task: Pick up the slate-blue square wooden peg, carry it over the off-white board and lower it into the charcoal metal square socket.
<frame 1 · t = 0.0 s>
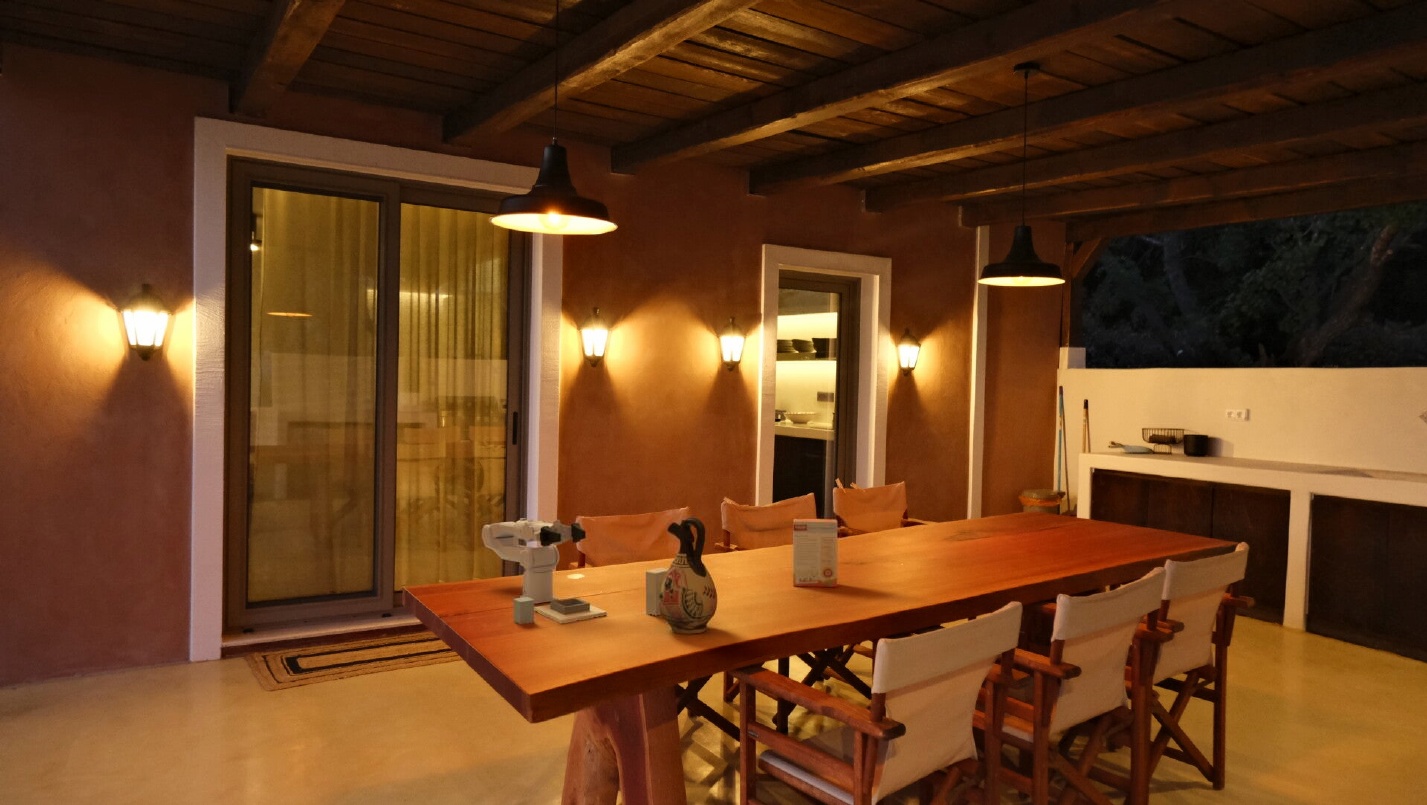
hand: (572, 536, 246), 22 cm above the table, tool horizontal, fingers open, 7 cm apart
skincare box: (657, 613, 249), on the table
socket holder: (570, 613, 247), on the table
cracker box: (814, 585, 283), on the table
peg: (523, 621, 239), on the table
ceramic jug: (689, 631, 232), on the table
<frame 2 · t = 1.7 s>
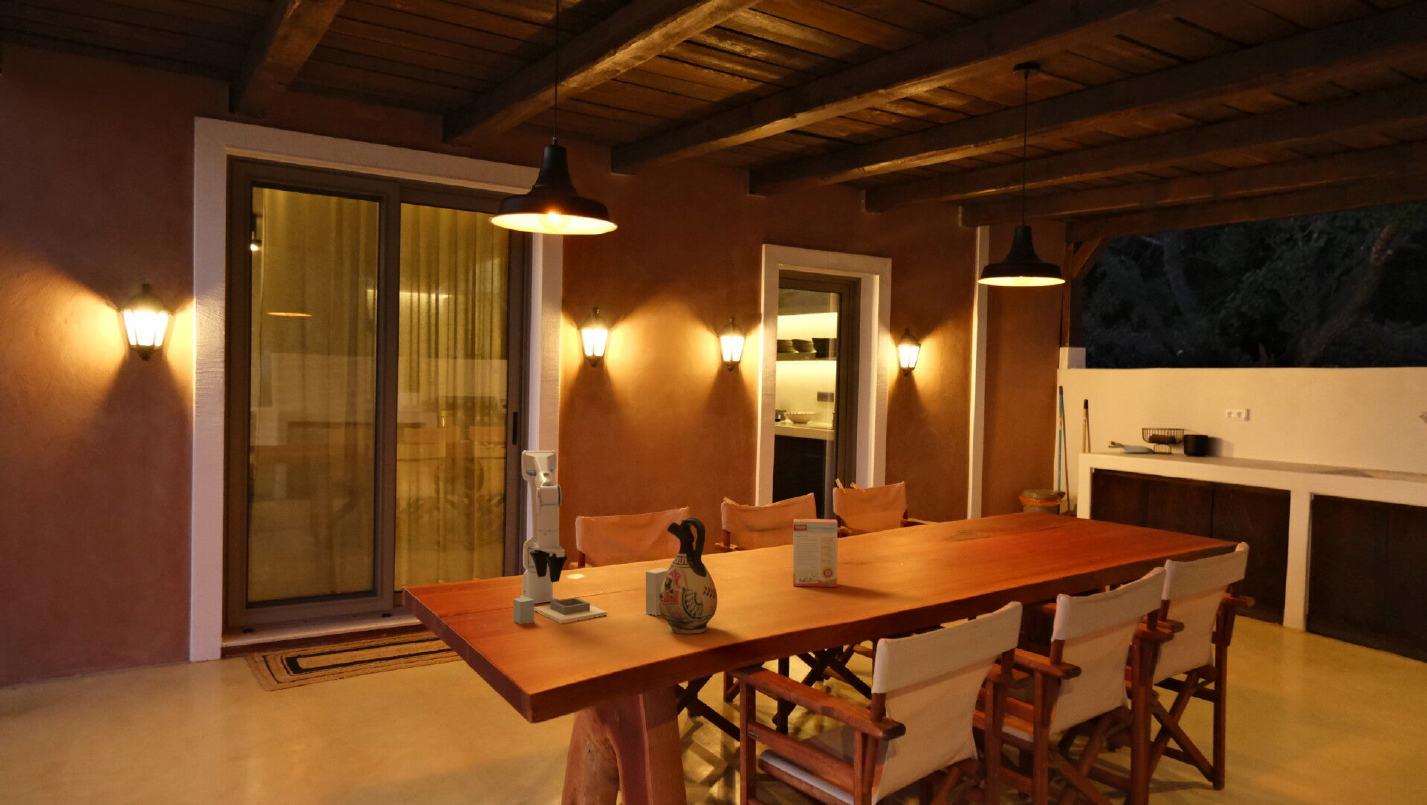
hand: (548, 579, 243), 10 cm above the table, tool pointing down, fingers open, 7 cm apart
nothing on the table moved.
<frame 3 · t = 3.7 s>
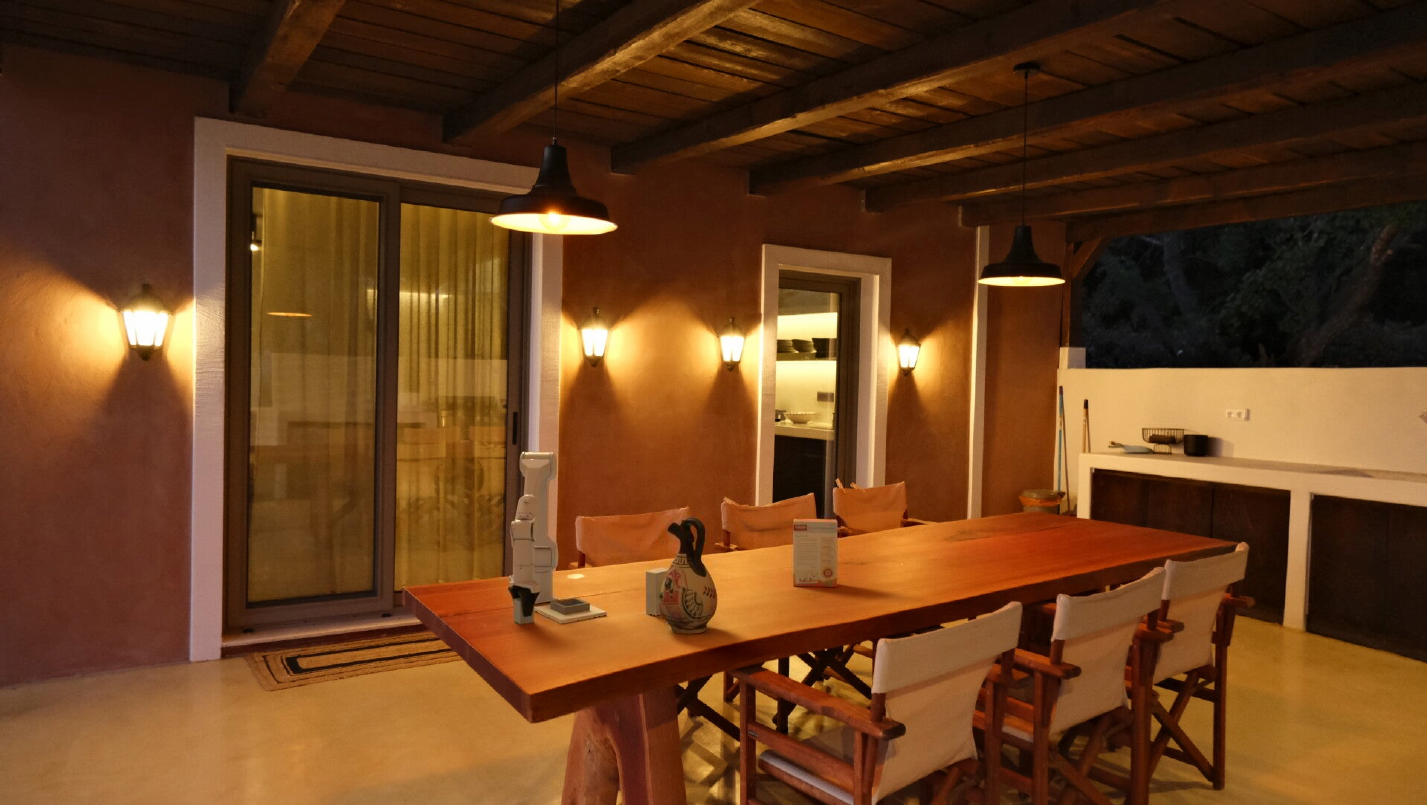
hand: (523, 614, 239), 2 cm above the table, tool pointing down, fingers closed on peg, 4 cm apart
peg: (523, 621, 239), on the table, touching gripper
everything else where it was.
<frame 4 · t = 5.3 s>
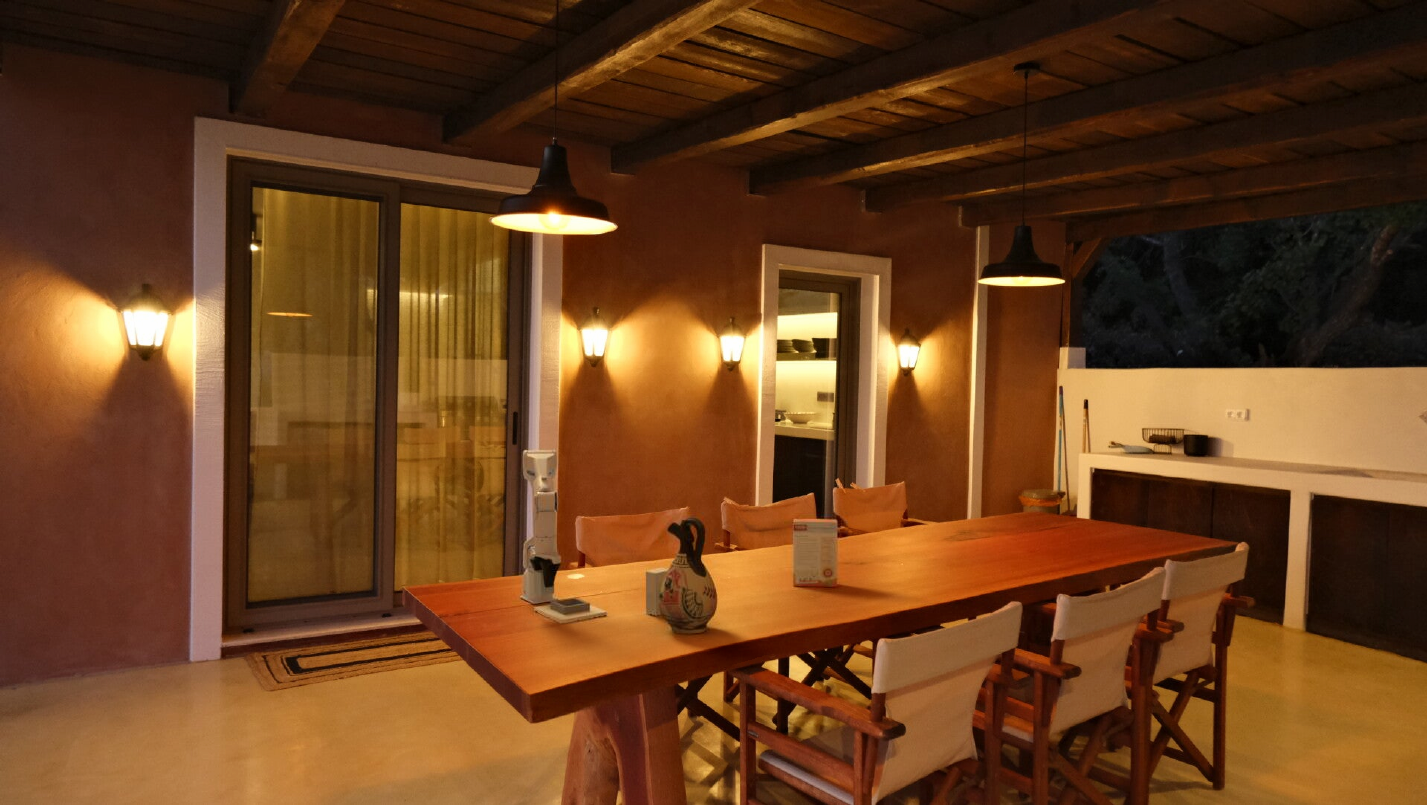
hand: (545, 585, 242), 9 cm above the table, tool pointing down, fingers closed on peg, 4 cm apart
peg: (544, 593, 242), point 7 cm above the table, touching gripper
everything else where it was.
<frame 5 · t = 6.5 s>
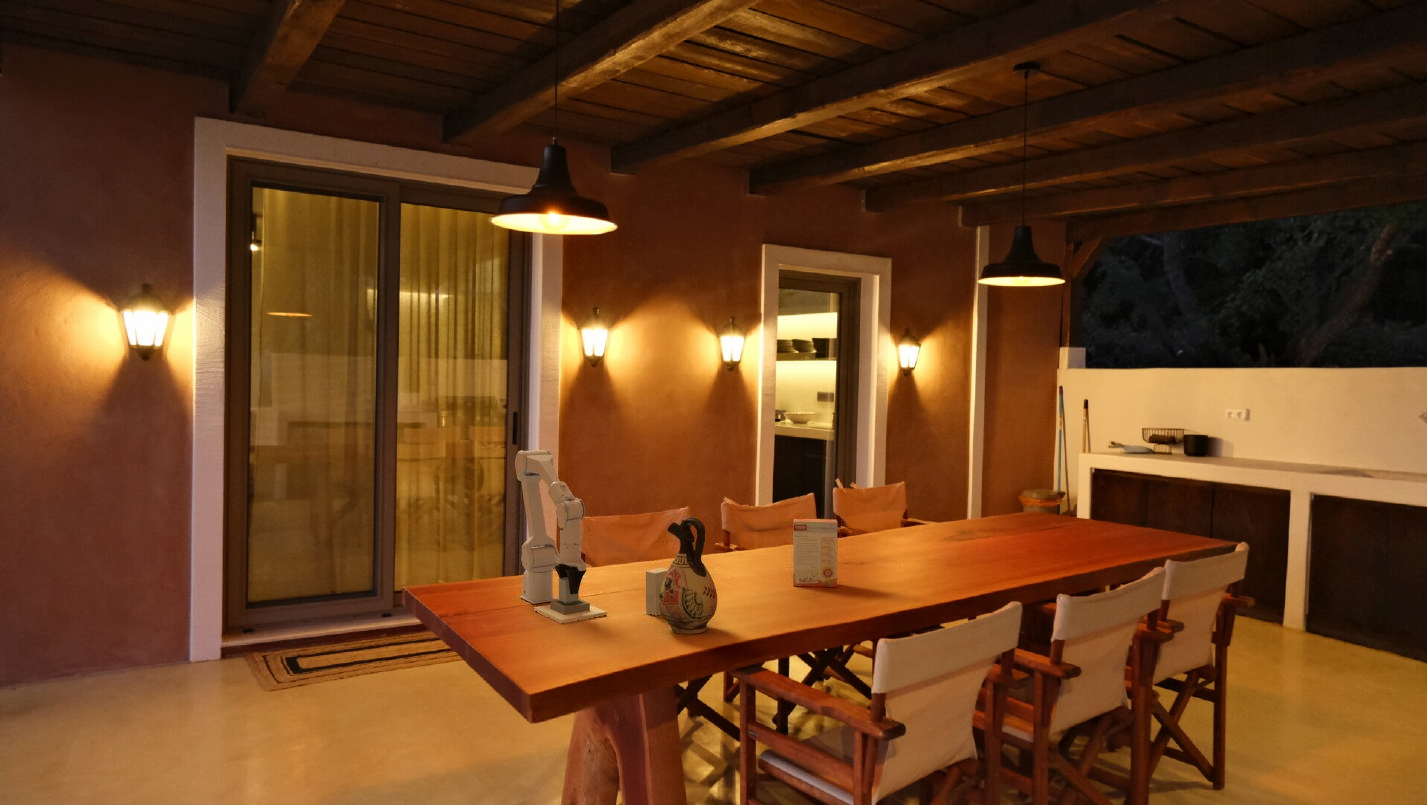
hand: (570, 592, 247), 6 cm above the table, tool pointing down, fingers closed on peg, 4 cm apart
peg: (568, 600, 247), point 4 cm above the table, touching gripper
everything else where it was.
when the fingers open (4 cm above the table, at t = 7.4 s): peg stays where it is, resting on socket holder.
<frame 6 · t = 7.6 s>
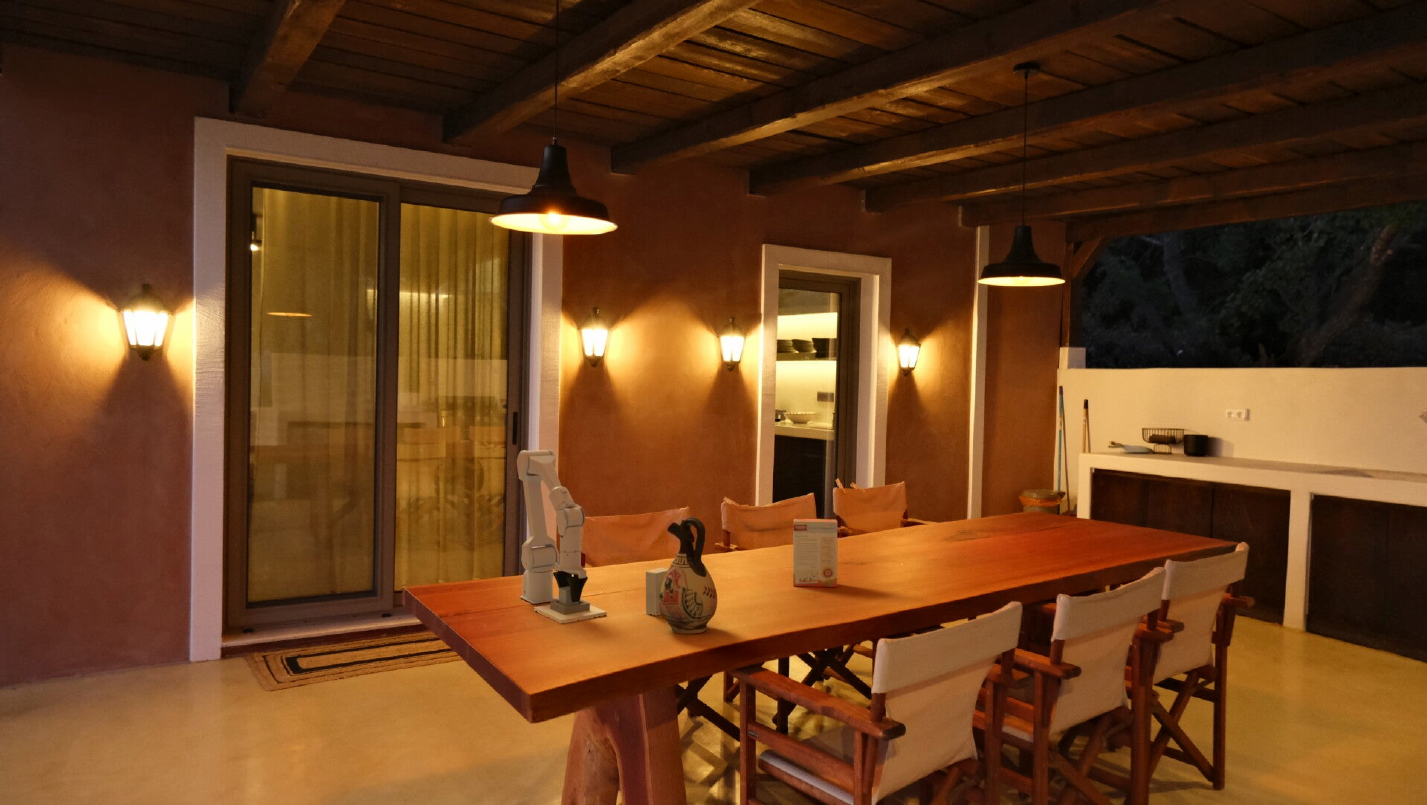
hand: (570, 599, 247), 4 cm above the table, tool pointing down, fingers open, 6 cm apart
peg: (568, 609, 247), point 1 cm above the table, touching socket holder
everything else where it was.
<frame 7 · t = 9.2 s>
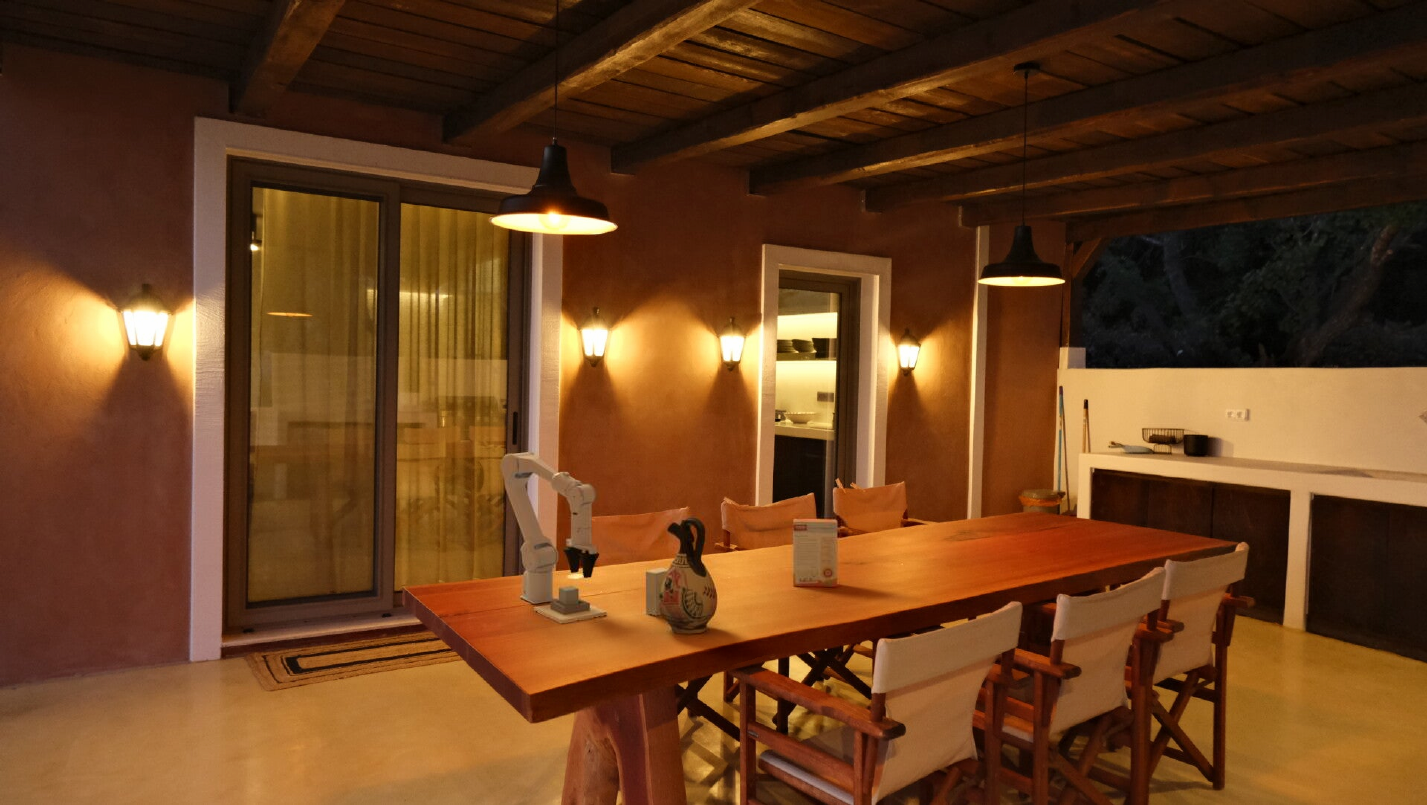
hand: (580, 574, 253), 9 cm above the table, tool pointing down, fingers open, 7 cm apart
nothing on the table moved.
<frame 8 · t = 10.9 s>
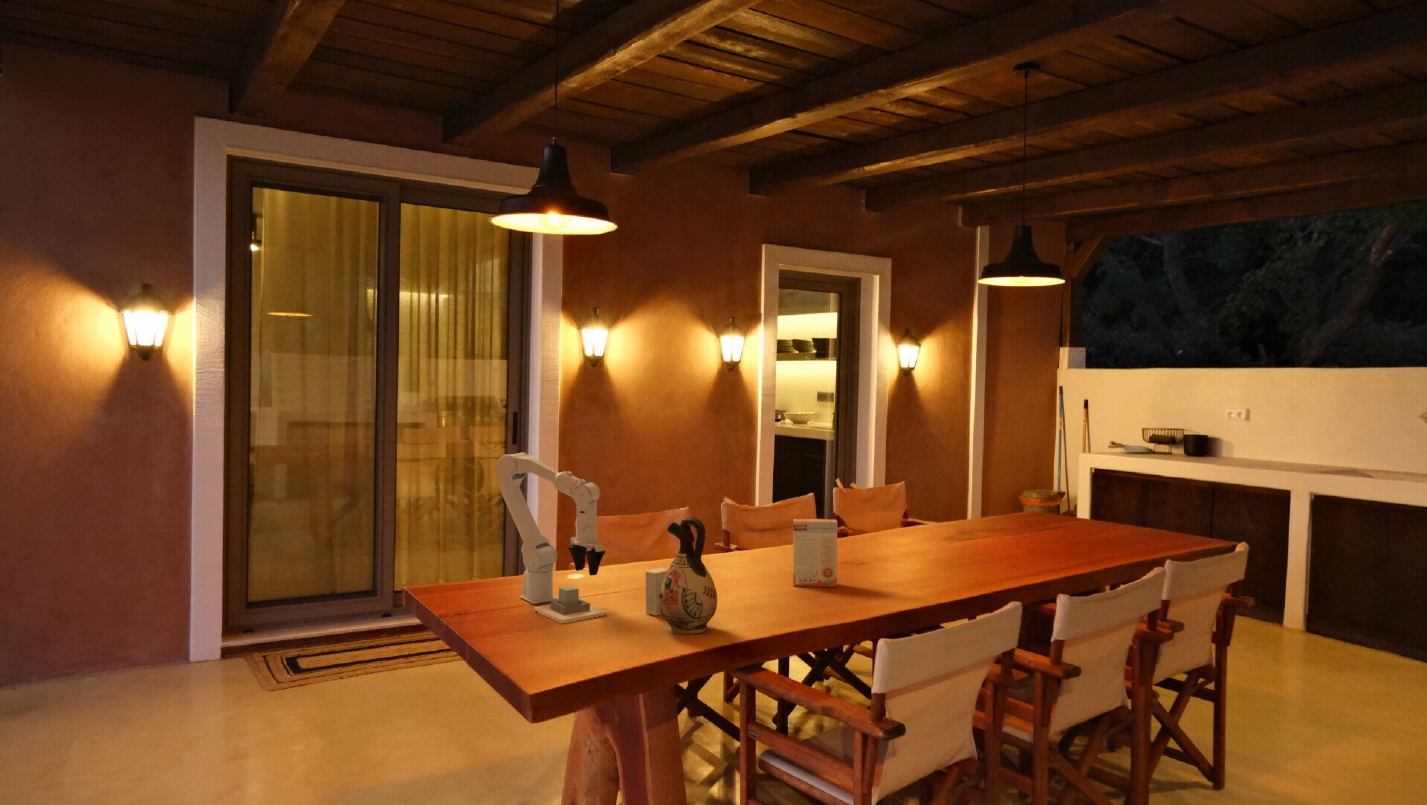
hand: (586, 572, 256), 9 cm above the table, tool pointing down, fingers open, 7 cm apart
nothing on the table moved.
at the end: peg 0.5 cm off-centre on the socket holder, point 1.0 cm above the socket holder's base; peg tilted 0°; the gripper is holding nothing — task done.
